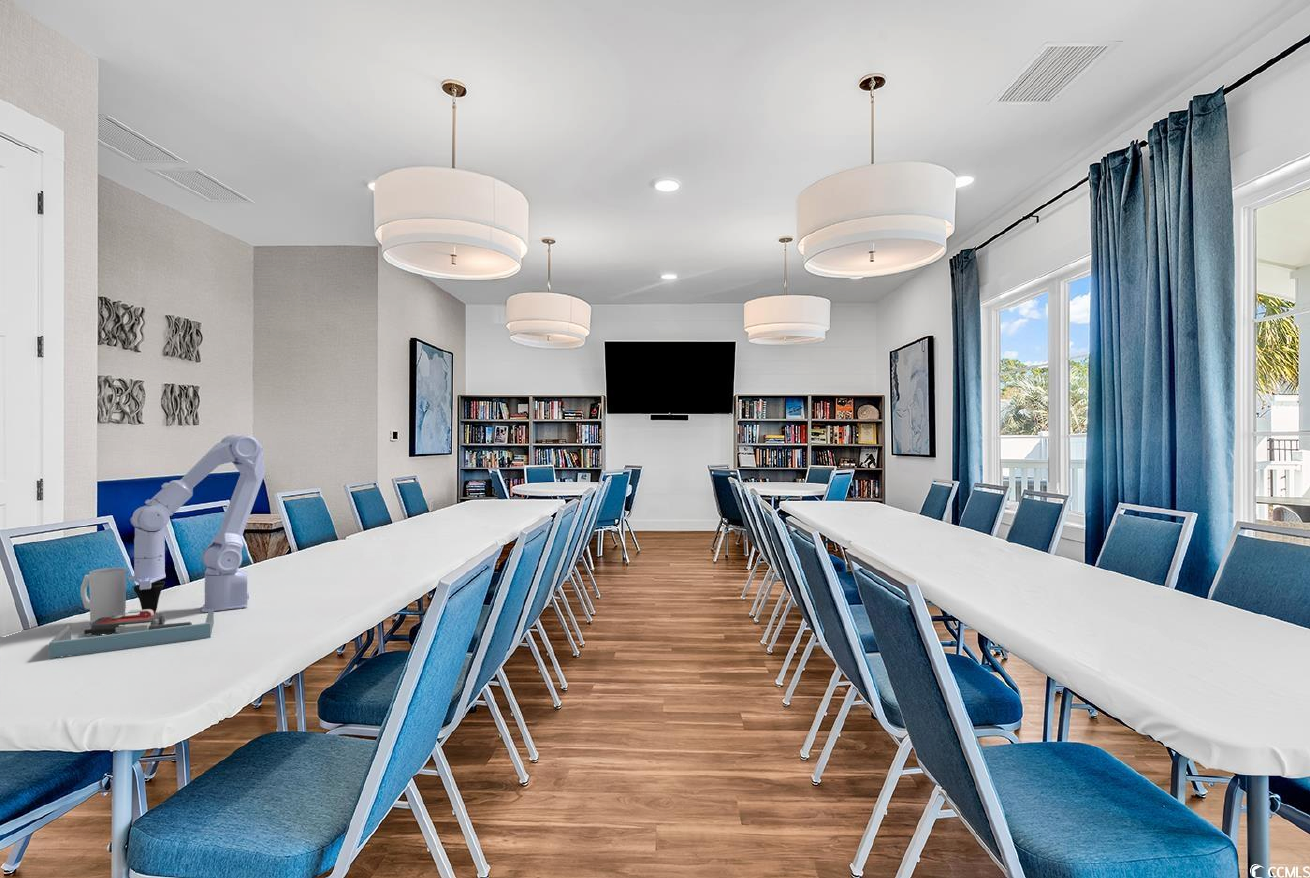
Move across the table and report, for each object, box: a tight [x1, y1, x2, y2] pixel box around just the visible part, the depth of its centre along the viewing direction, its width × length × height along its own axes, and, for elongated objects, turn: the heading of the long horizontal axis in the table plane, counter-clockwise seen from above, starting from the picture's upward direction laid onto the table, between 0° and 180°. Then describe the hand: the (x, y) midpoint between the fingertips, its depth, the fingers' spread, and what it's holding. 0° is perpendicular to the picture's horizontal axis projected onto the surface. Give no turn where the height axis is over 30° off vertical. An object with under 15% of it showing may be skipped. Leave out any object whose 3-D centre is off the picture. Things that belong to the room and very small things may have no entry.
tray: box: [48, 611, 215, 659], centre depth 139 cm, size 26×12×3 cm, turn 122°
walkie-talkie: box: [83, 609, 193, 636], centre depth 147 cm, size 9×4×20 cm
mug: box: [80, 567, 127, 625], centre depth 153 cm, size 10×7×12 cm, turn 86°
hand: (149, 614), depth 154 cm, fingers closed
